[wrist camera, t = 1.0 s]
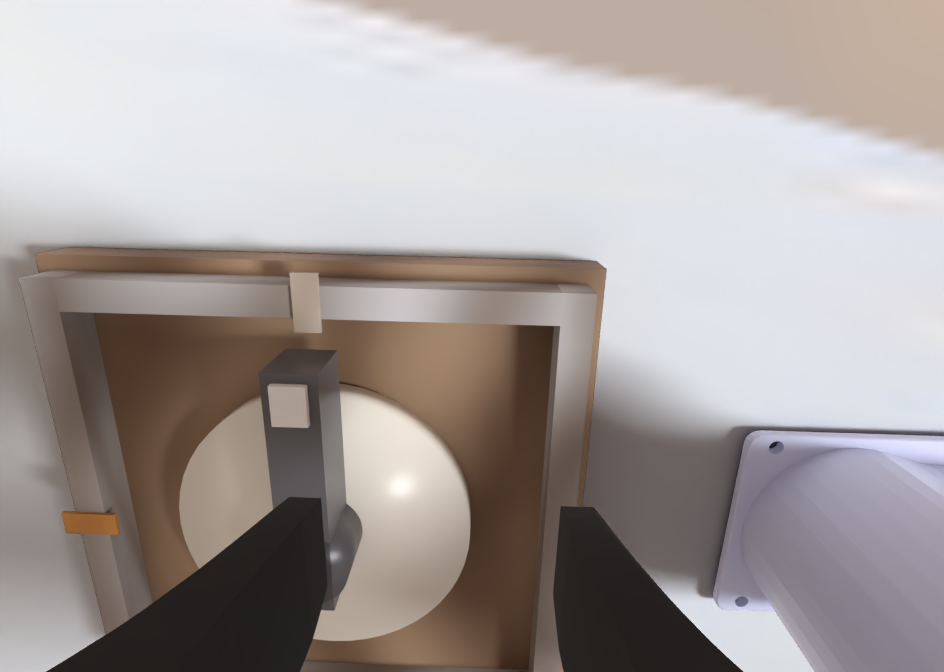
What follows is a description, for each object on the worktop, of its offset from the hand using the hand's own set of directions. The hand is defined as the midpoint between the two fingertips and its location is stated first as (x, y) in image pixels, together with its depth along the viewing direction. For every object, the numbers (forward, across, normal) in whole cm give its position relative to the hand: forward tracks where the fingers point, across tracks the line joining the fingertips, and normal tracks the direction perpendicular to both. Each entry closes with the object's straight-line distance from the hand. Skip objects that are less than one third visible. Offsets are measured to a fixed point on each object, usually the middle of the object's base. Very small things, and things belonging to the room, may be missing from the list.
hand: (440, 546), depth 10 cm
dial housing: (+9, +4, +5) cm, 12 cm away
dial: (+8, +5, +4) cm, 10 cm away
